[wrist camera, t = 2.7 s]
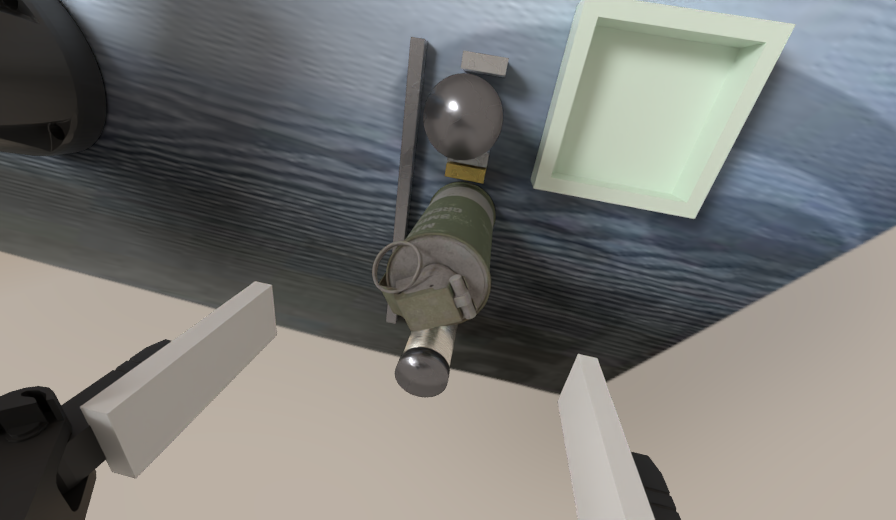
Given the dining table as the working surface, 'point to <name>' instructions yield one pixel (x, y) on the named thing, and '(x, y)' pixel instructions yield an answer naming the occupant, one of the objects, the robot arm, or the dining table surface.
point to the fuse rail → (467, 147)
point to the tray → (652, 102)
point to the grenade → (442, 260)
